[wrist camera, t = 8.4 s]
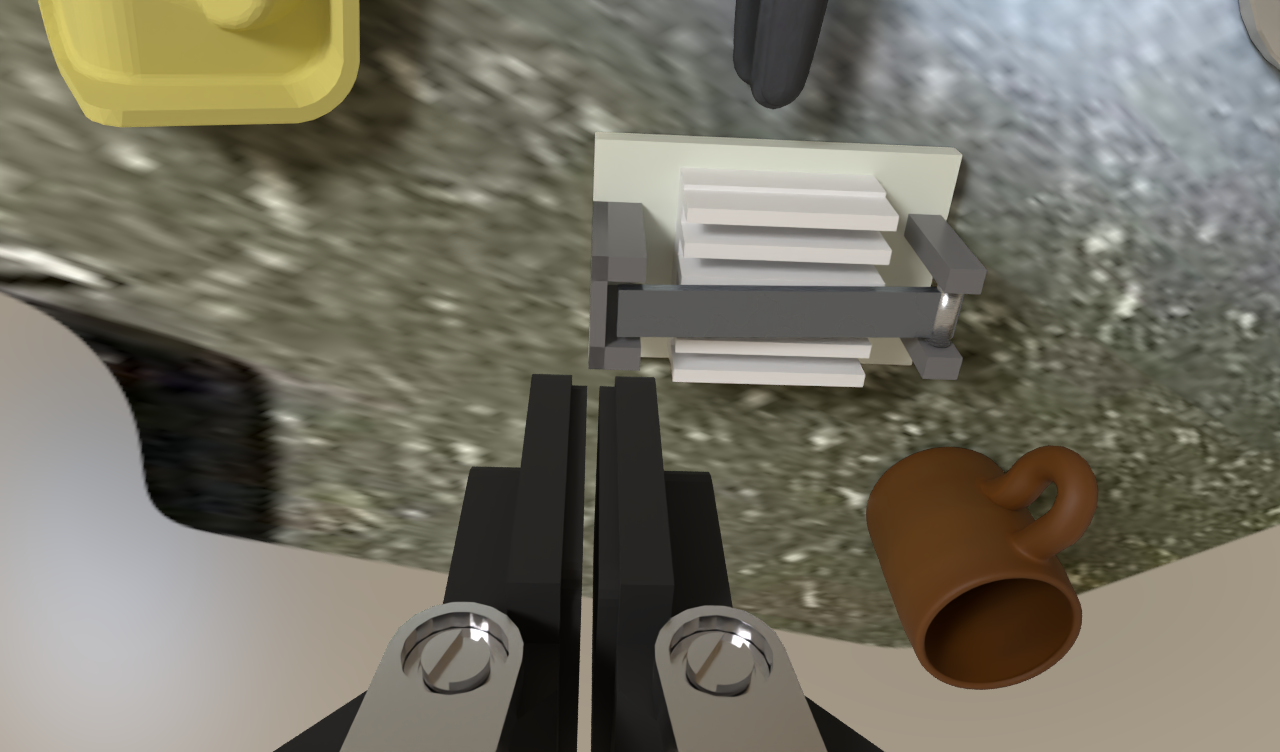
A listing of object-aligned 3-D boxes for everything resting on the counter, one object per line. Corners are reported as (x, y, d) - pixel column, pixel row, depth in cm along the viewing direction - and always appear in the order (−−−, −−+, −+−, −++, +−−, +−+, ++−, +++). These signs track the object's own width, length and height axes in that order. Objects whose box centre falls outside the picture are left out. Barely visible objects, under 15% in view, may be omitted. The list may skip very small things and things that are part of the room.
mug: (949, 350, 44) (1028, 472, 36) (1084, 394, 45) (1187, 519, 37) (836, 534, 50) (882, 673, 42) (959, 567, 51) (1026, 707, 43)
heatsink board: (954, 147, 39) (1013, 204, 33) (905, 354, 44) (949, 433, 38) (595, 131, 38) (594, 187, 32) (589, 344, 43) (586, 423, 37)
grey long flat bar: (959, 277, 36) (969, 288, 36) (944, 335, 38) (953, 347, 37) (617, 274, 35) (619, 285, 34) (614, 334, 36) (616, 347, 35)
